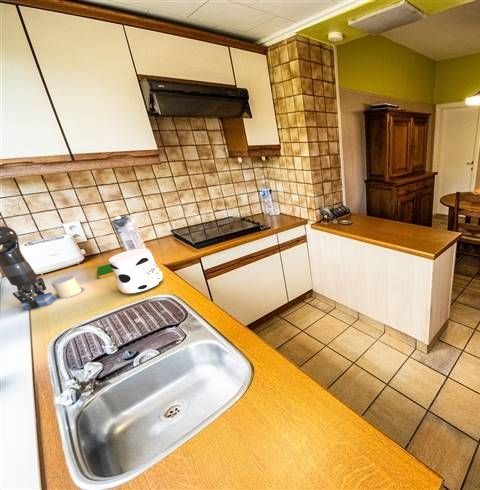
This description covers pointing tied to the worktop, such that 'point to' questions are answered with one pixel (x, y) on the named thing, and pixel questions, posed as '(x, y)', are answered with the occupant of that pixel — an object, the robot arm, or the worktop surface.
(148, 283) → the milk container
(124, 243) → the juice carton
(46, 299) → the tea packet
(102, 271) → the dish sponge
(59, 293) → the yogurt pot
